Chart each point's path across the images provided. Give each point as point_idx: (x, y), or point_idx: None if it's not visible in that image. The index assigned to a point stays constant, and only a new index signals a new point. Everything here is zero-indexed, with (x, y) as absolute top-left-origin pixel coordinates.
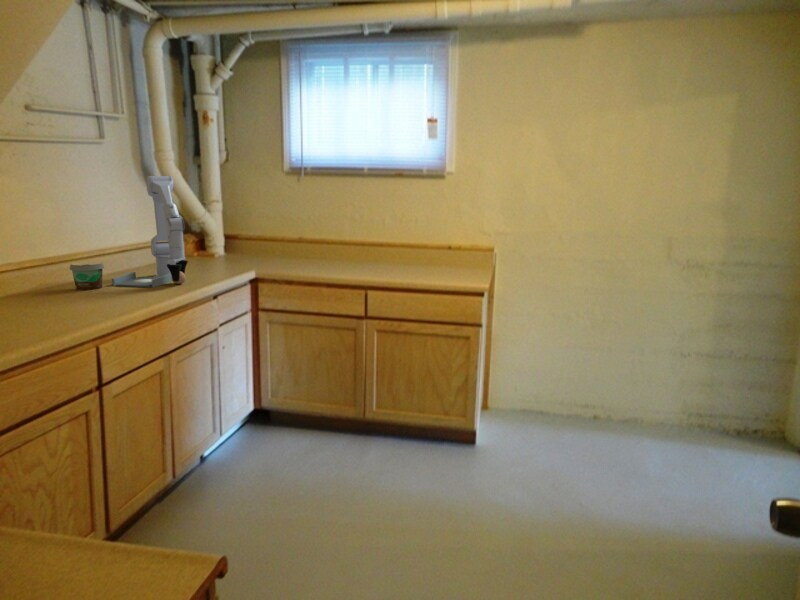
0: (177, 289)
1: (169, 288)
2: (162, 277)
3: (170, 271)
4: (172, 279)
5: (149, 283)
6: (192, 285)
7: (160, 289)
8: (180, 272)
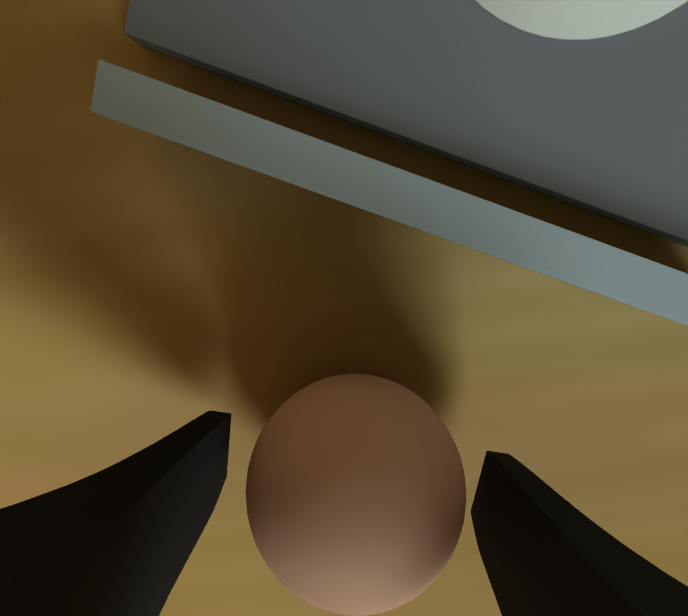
0: (22, 438)
1: (80, 346)
2: (412, 226)
3: (53, 497)
4: (297, 393)
5: (315, 12)
6: (250, 560)
7: (14, 247)
8: (304, 596)
